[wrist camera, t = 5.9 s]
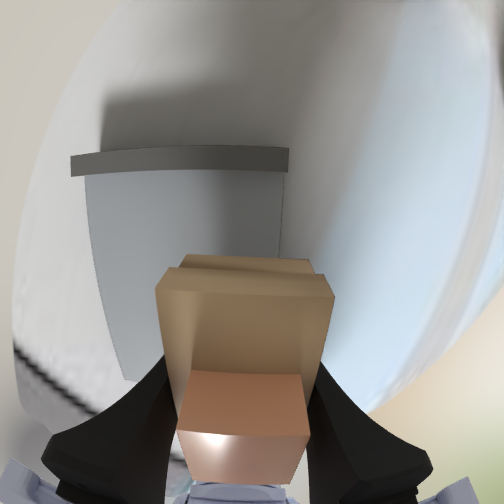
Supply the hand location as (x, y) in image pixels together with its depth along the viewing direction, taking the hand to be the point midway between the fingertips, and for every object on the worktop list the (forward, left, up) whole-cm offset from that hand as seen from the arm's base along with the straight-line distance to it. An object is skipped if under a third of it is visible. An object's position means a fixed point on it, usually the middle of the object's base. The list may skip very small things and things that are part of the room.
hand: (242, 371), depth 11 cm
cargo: (0, 0, +2) cm, 2 cm away
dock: (0, +4, -8) cm, 9 cm away
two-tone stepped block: (0, 0, -2) cm, 2 cm away
